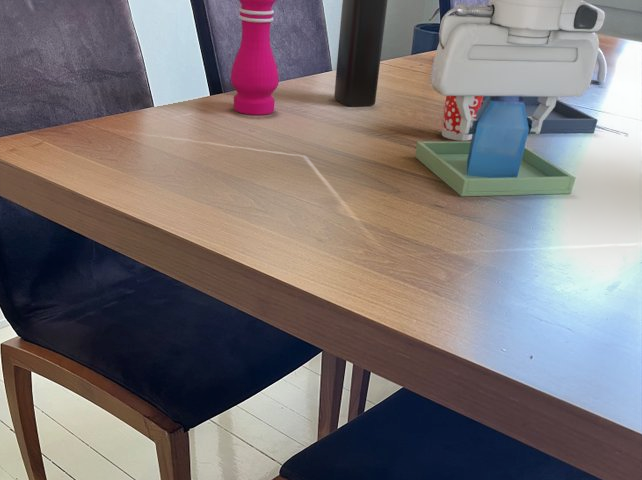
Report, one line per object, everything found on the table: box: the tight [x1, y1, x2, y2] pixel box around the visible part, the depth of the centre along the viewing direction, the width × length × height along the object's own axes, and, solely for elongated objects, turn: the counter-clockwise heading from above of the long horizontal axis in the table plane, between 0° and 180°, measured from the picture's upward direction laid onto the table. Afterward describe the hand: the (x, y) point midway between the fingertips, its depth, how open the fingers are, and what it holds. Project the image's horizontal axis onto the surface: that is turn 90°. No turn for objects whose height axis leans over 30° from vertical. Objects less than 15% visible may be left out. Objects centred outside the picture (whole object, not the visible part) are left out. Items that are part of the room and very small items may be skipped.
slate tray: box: [481, 96, 599, 134], centre depth 119 cm, size 15×15×2 cm
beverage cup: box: [441, 96, 483, 141], centre depth 105 cm, size 6×6×14 cm
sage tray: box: [414, 140, 576, 197], centre depth 95 cm, size 15×15×2 cm
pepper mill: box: [230, 0, 280, 116], centre depth 106 cm, size 7×7×20 cm
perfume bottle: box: [467, 96, 529, 178], centre depth 92 cm, size 6×6×12 cm
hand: (499, 133), depth 93 cm, fingers closed on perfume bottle, 8 cm apart
